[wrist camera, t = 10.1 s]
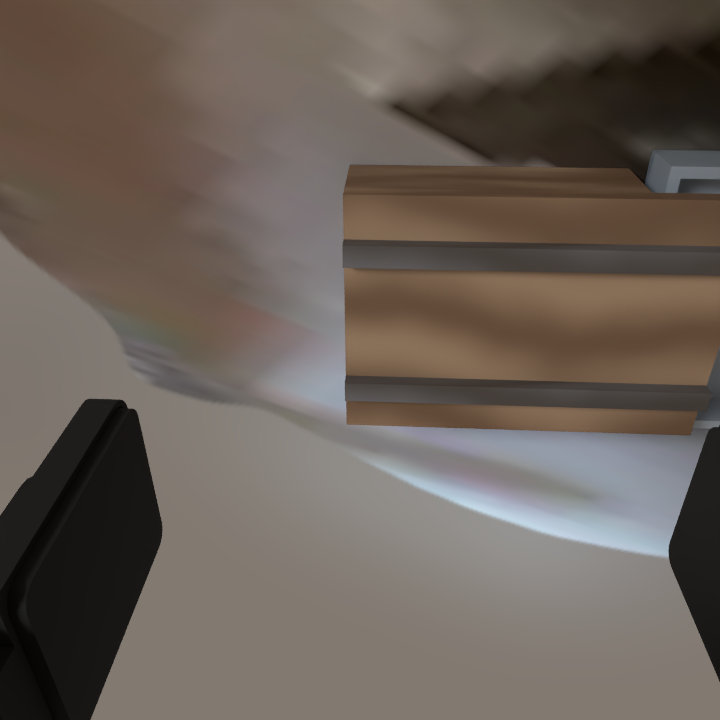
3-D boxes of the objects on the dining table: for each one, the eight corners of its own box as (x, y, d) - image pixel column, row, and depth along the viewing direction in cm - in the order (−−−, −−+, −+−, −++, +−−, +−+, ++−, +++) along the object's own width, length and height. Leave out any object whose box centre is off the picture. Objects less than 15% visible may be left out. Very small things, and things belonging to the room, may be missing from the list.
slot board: (349, 164, 37) (341, 200, 32) (724, 169, 36) (775, 207, 31) (352, 377, 44) (345, 432, 39) (662, 386, 43) (695, 444, 39)
